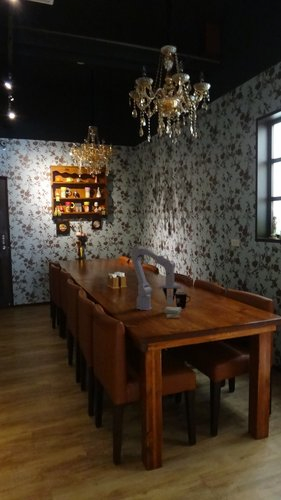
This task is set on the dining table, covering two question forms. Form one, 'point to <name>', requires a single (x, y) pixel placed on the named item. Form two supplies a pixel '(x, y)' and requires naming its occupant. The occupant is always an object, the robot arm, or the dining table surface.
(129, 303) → the dining table surface
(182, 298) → the coffee mug
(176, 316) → the plate
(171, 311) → the grey green square tray
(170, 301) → the block
